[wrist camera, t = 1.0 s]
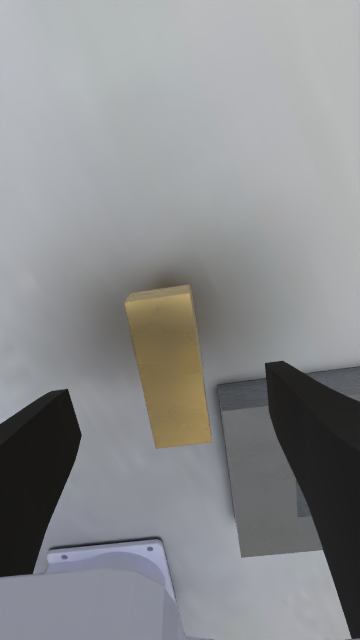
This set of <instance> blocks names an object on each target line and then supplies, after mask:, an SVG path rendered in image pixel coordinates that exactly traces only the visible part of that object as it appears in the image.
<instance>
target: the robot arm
mask: <svg viewBox="0 0 360 640" xmlns="http://www.w3.org/2000/svg"><path fill="white" fill-rule="evenodd" d="M265 369H266V381H267V394H268V407H269V414H270V418H271V421H272V424H273V427H274V430H275V433H276V437H277V439H278V441H279V443H280V445H281V448H282V450H283V452H284V454H285V456H286V459H287V461H288V463H289V465H290V467H291V469H292V471H293V474H294V476H295V478H296V480H297V482H298V484H299V486H300V489H301V491H302V493H303V495H304V498H305V500H306V502H307V505H308V507H309V510H310V513H311V516H312V519H313V522H314V525H315V527H316V530H317V533H318V536H319V539H320V542H321V545H322V548H323V551H324V554H325V557H326V560H327V563H328V566H329V569H330V572H331V575H332V578H333V581H334V584H335V587H336V590H337V593H338V596H339V600H340V603H341V606H342V609H343V612H344V615H345V618H346V622H347V625H348V628H349V631H350V635H351V638H352V639H347V640H360V401H357V400H355V399H352V398H350V397H348V396H346V395H344V394H341V393H339V392H337V391H335V390H333V389H331V388H329V387H327V386H325V385H324V384H322V383H320V382H318V381H316V380H314V379H313V378H311V377H309V376H308V375H306V374H304V373H303V372H301V371H299V370H298V369H296V368H294V367H293V366H291V365H289V364H288V363H286V362H284V361H278V362H270V363H265ZM81 436H82V434H81V431H80V428H79V424H78V421H77V418H76V414H75V411H74V408H73V405H72V401H71V398H70V395H69V391H68V389H64V390H56V391H51V392H49V393H47V394H45V395H43V396H42V397H40V398H39V399H37V400H36V401H34V402H32V403H31V404H29V405H28V406H26V407H25V408H24V409H22V410H21V411H19V412H18V413H16V414H15V415H13V416H12V417H10V418H9V419H7V420H6V421H4V422H3V423H1V424H0V640H212V639H205V638H198V637H192V636H186V635H185V633H184V631H183V627H182V622H181V618H180V614H179V610H178V607H177V605H176V598H175V594H174V590H173V585H172V581H171V577H170V573H169V568H168V564H167V560H166V556H165V551H164V547H163V543H162V542H161V541H160V540H157V539H155V540H145V541H135V542H125V543H115V544H105V545H95V546H85V547H75V548H64V549H54V550H50V551H49V552H48V554H47V560H48V563H49V565H48V568H47V570H46V573H40V574H33V571H34V568H35V564H36V561H37V558H38V554H39V551H40V548H41V545H42V542H43V538H44V535H45V532H46V530H47V527H48V524H49V522H50V519H51V517H52V514H53V512H54V510H55V507H56V505H57V503H58V500H59V498H60V496H61V493H62V491H63V489H64V486H65V484H66V482H67V479H68V477H69V474H70V472H71V470H72V467H73V465H74V462H75V459H76V456H77V452H78V448H79V444H80V440H81Z"/></svg>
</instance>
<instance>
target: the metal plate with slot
mask: <svg viewBox="0 0 360 640" xmlns="http://www.w3.org/2000/svg"><path fill="white" fill-rule="evenodd" d="M306 375H308V376H309V377H311V378H313V379H314V380H316V381H318V382H320V383H322V384H324V385H325V386H327V387H329V388H331V389H333V390H335V391H337V392H339V393H341V394H344V395H346V396H348V397H350V398H352V399H355V400H357V401H360V367H354V368H346V369H339V370H331V371H323V372H315V373H307V374H306ZM217 386H218V394H219V401H220V409H221V416H222V424H223V431H224V439H225V446H226V454H227V461H228V469H229V476H230V484H231V491H232V498H233V506H234V513H235V521H236V527H237V533H238V539H239V546H240V552H241V558H242V557H253V556H264V555H274V554H285V553H295V552H306V551H317V550H323V548H322V545H321V542H320V539H319V536H318V533H317V530H316V527H315V525H314V522H313V519H312V516H311V513H310V510H309V507H308V505H307V502H306V500H305V498H304V495H303V493H302V491H301V489H300V486H299V484H298V482H297V480H296V478H295V476H294V474H293V471H292V469H291V467H290V465H289V463H288V461H287V459H286V456H285V454H284V452H283V450H282V448H281V445H280V443H279V441H278V439H277V437H276V433H275V430H274V427H273V424H272V421H271V418H270V414H269V407H268V394H267V381H266V379H260V380H253V381H245V382H237V383H229V384H221V385H217Z"/></svg>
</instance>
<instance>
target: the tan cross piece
mask: <svg viewBox="0 0 360 640" xmlns="http://www.w3.org/2000/svg"><path fill="white" fill-rule="evenodd" d="M124 304H125V309H126V313H127V318H128V322H129V327H130V332H131V336H132V341H133V345H134V350H135V355H136V359H137V364H138V368H139V373H140V378H141V382H142V387H143V392H144V396H145V401H146V405H147V410H148V415H149V419H150V424H151V428H152V433H153V438H154V442H155V447H156V449H158V448H166V447H175V446H183V445H191V444H200V443H208V442H212V439H211V430H210V421H209V415H208V408H207V401H206V394H205V385H204V376H203V367H202V358H201V349H200V341H199V334H198V328H197V321H196V314H195V307H194V300H193V294H192V287H191V285H189V284H188V285H181V286H174V287H167V288H161V289H154V290H147V291H141V292H134V293H130V294H129V296H128V298H127V299H126V301H125V302H124Z"/></svg>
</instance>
